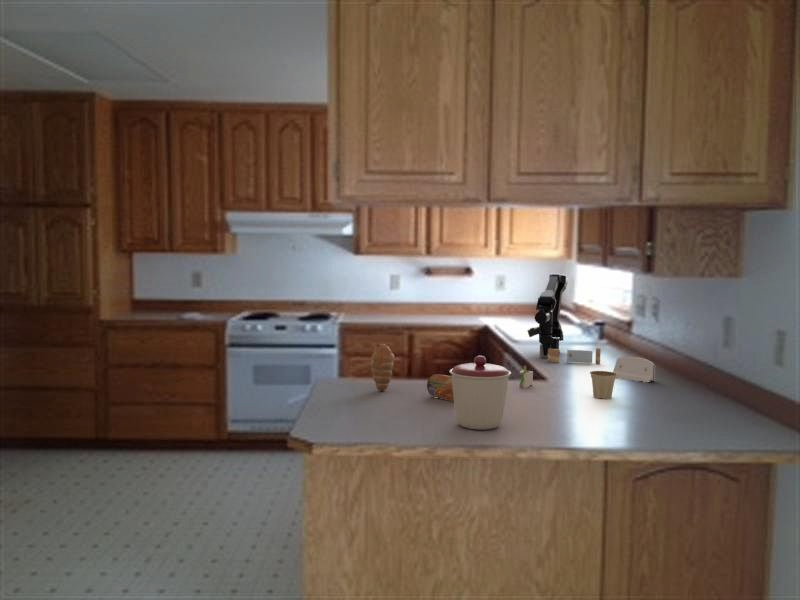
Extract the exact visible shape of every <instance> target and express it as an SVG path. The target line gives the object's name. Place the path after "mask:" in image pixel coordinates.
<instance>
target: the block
mask: <svg viewBox="0 0 800 600" xmlns="http://www.w3.org/2000/svg"><path fill="white" fill-rule="evenodd" d="M550 349H551V346H550ZM540 357H548V353H547V355H546V356H544V352H543V346H542V344H541V343H540V344H539V358H540Z"/></svg>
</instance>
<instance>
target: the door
mask: <svg viewBox="0 0 800 600" xmlns="http://www.w3.org/2000/svg"><path fill="white" fill-rule="evenodd" d="M566 362H567V363H578V362H579V363H583V364H593V350H589V349H588V350H586V349H567V350H566ZM579 363H578V364H579Z"/></svg>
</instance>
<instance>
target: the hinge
mask: <svg viewBox="0 0 800 600" xmlns="http://www.w3.org/2000/svg"><path fill="white" fill-rule="evenodd" d="M612 372H614V373H617V376H616V379H619V378H621V379H620V380H625V379H627V381H632V380H634V382H639V381H643V382H642V383H646V382H650V383H651V382H655V381H656V364H655V363H654V362H653V361H650V360H649V359H646V358H644V357H640V356H622V357H617V358H616V361H615V364H614V369H613V371H612Z"/></svg>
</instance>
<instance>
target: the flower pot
mask: <svg viewBox="0 0 800 600" xmlns="http://www.w3.org/2000/svg"><path fill="white" fill-rule="evenodd" d="M589 374H590V378H591V384H592V392H593V394H592V396H593V397H594V398H596V399H604V400H608V399H609V398H610V399H611V398H612V396H613V392H614V385H615V381H616V379H617V378H616V376H617V373H614V372H613V371H608V370H592V371H589Z"/></svg>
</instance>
